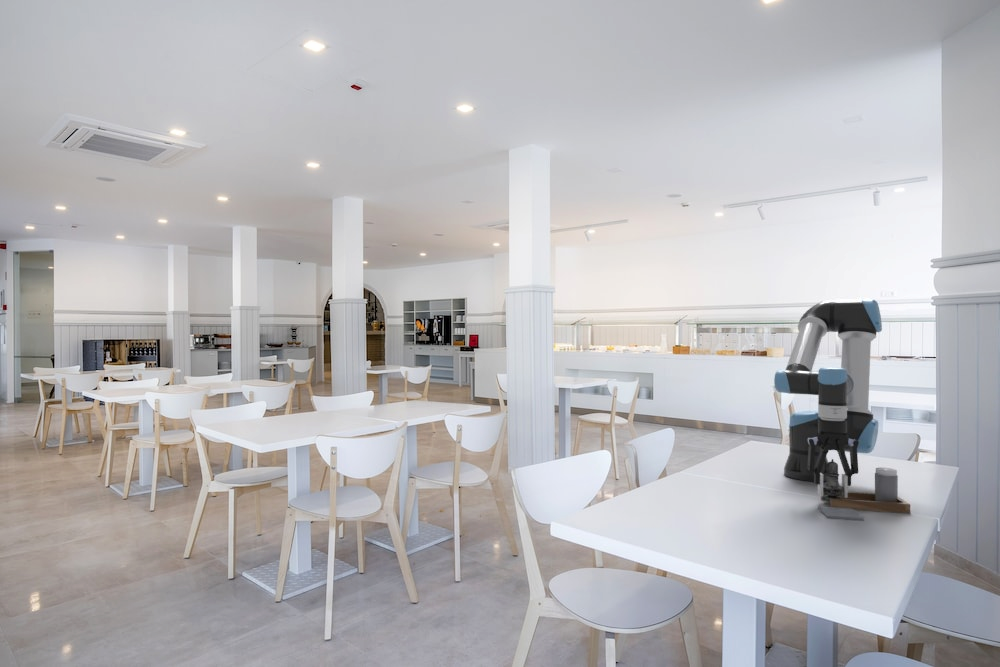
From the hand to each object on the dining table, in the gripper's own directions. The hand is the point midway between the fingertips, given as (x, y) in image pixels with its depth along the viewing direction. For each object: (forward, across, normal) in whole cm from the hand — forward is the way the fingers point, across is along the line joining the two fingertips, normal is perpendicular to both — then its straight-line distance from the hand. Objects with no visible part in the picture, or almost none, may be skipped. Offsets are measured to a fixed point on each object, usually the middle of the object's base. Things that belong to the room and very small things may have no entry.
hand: (832, 495), depth 173 cm
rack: (+2, +8, 0) cm, 8 cm away
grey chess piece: (+1, 0, 0) cm, 1 cm away
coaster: (+2, -1, -11) cm, 11 cm away
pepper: (+2, +14, 0) cm, 14 cm away
